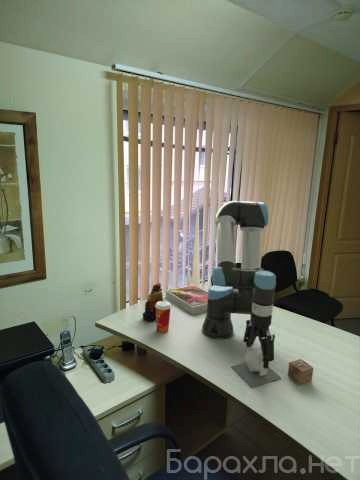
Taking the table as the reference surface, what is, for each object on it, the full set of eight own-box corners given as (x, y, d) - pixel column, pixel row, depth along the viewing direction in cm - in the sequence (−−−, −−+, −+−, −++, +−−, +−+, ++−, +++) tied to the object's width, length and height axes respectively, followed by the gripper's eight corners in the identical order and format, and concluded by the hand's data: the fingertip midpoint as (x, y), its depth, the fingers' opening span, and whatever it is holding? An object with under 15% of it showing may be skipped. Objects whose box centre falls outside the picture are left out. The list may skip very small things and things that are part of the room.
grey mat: (230, 367, 118) (230, 366, 118) (259, 359, 124) (259, 358, 123) (251, 388, 106) (251, 386, 106) (281, 378, 112) (281, 377, 112)
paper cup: (154, 326, 148) (155, 300, 145) (170, 326, 148) (170, 300, 146) (154, 334, 140) (155, 307, 137) (170, 334, 141) (171, 307, 138)
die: (261, 381, 109) (275, 359, 110) (242, 367, 110) (256, 344, 111) (257, 375, 117) (270, 354, 118) (238, 362, 118) (251, 341, 120)
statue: (156, 312, 163) (157, 278, 159) (164, 318, 157) (165, 282, 153) (137, 318, 155) (137, 282, 151) (145, 324, 149) (146, 287, 146)
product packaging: (192, 315, 162) (193, 307, 161) (165, 298, 185) (166, 290, 184) (222, 307, 174) (223, 299, 173) (193, 292, 197) (194, 284, 196)
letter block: (287, 376, 114) (289, 361, 113) (299, 372, 116) (300, 358, 115) (299, 386, 109) (301, 371, 107) (311, 381, 111) (313, 367, 110)
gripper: (236, 303, 118) (232, 355, 122) (272, 327, 99) (266, 387, 104) (252, 300, 121) (247, 351, 125) (289, 323, 102) (282, 382, 107)
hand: (255, 367), depth 115 cm, fingers closed on die, 8 cm apart
